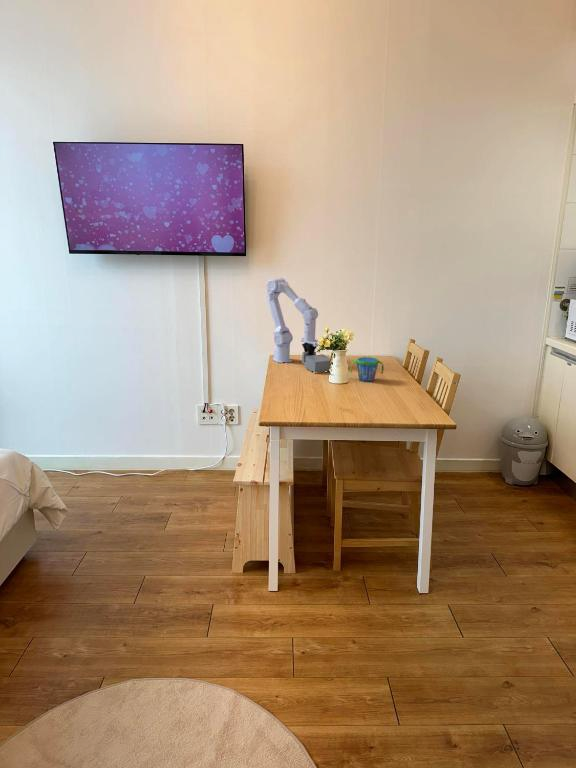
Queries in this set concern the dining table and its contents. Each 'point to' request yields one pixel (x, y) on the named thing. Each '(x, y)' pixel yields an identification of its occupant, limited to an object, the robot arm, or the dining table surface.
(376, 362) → the snack cup
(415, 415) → the dining table surface
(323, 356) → the grey stepped block
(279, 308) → the robot arm
